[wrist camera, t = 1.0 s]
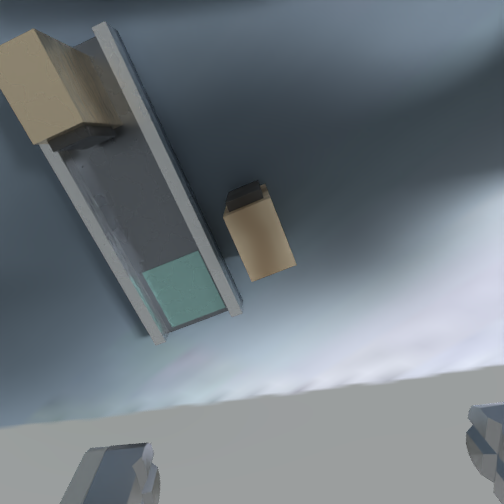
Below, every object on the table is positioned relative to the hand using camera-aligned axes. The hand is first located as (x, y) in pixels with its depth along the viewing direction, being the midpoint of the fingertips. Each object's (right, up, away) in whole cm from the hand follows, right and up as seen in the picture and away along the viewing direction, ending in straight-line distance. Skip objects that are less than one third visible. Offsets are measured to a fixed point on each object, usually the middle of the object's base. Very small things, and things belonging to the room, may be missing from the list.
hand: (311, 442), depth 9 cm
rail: (-12, +10, +26) cm, 30 cm away
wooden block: (-1, +8, +27) cm, 28 cm away
